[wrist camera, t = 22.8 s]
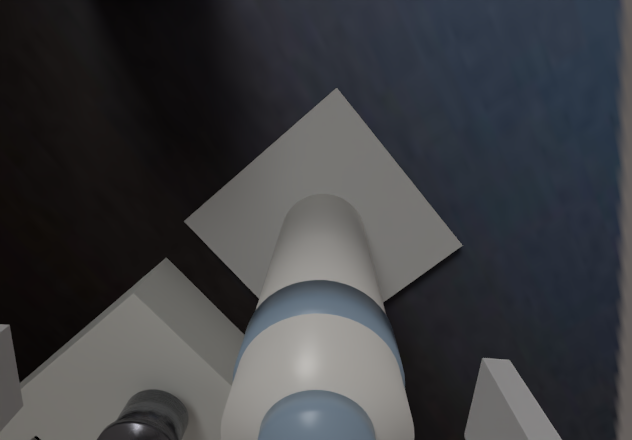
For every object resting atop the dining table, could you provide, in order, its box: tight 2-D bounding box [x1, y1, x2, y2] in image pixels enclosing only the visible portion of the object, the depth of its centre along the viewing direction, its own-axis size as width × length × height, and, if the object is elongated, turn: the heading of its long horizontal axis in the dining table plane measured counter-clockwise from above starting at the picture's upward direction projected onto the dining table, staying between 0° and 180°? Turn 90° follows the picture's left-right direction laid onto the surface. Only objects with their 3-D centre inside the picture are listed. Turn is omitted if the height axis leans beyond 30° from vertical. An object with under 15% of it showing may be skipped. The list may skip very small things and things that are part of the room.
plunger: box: [97, 389, 189, 440], centre depth 23 cm, size 4×4×3 cm
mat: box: [184, 88, 462, 302], centre depth 27 cm, size 12×12×1 cm
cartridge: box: [221, 194, 414, 440], centre depth 19 cm, size 5×5×17 cm
